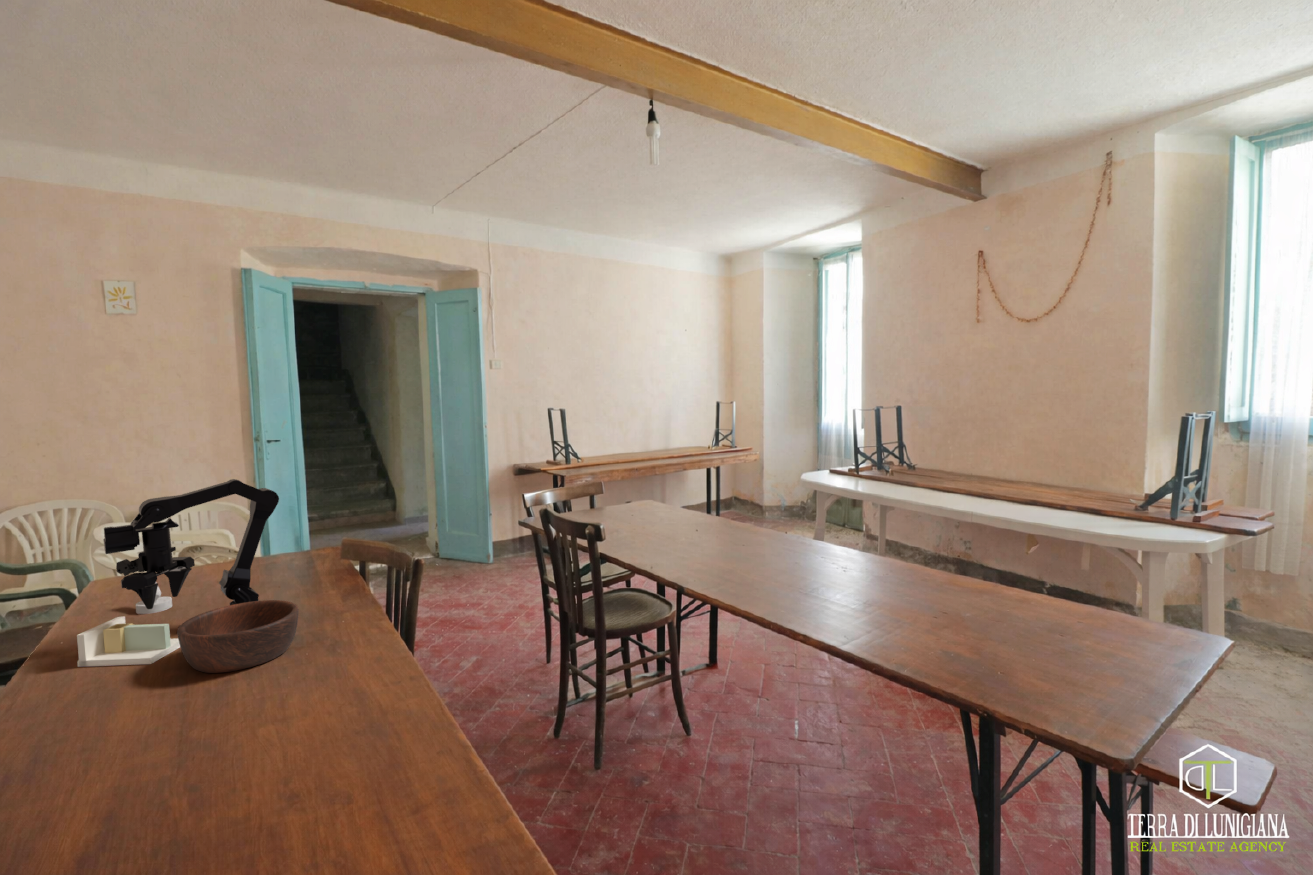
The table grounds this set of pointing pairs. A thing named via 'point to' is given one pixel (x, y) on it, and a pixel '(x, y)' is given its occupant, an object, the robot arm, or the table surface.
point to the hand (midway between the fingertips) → (162, 602)
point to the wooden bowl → (238, 635)
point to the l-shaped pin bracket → (95, 655)
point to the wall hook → (155, 604)
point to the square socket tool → (136, 637)
